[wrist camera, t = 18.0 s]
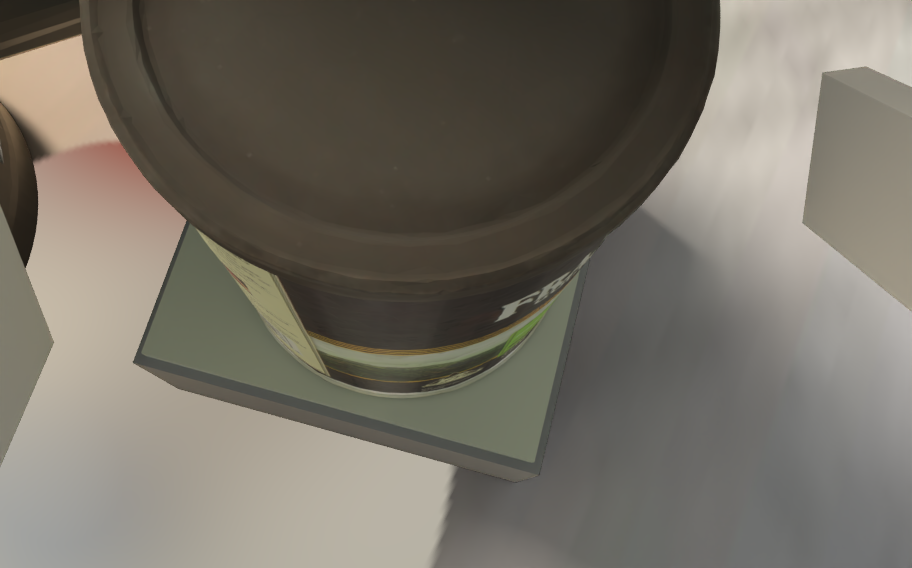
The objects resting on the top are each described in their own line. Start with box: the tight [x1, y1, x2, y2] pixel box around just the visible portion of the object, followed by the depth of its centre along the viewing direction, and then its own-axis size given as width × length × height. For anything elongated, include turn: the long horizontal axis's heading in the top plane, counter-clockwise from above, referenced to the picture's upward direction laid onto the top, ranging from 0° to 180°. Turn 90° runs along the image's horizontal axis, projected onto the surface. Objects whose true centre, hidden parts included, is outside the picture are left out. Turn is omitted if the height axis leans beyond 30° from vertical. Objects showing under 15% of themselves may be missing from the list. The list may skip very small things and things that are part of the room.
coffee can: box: [79, 0, 720, 398], centre depth 20 cm, size 10×10×14 cm
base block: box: [133, 221, 590, 482], centre depth 30 cm, size 13×13×6 cm
